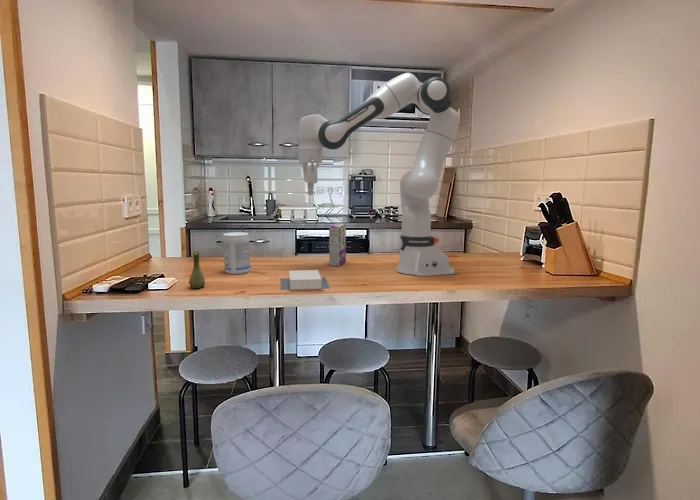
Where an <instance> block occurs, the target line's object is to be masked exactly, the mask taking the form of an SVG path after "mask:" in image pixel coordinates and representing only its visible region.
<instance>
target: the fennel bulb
mask: <svg viewBox="0 0 700 500" xmlns="http://www.w3.org/2000/svg"><path fill="white" fill-rule="evenodd" d="M192 255H193V269H192V271H191V274H190V275H189V278H188V283H189V284H188V285H189V286H190V287H191V289H192V288H193V289H201V288H203V287H205V286H206V279H205V275H204V273H203V271H202V268H201V266H200V252H199V251H196V250H195V251H193V254H192Z"/></svg>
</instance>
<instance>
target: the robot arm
mask: <svg viewBox="0 0 700 500" xmlns="http://www.w3.org/2000/svg"><path fill="white" fill-rule="evenodd" d="M451 93H452V92H451V87H450V84H449V82H448V81H447V80H446V79H445V78H444V77H440V76H433V77H430V78H428V79H427V80H425V81H424V82H421V81H419V80H418V77H416V75H414V74H413V73H412V72H405V73H402V74H400V75H397V76H395V77H394V78H392V79H390V80H388V81H387V82H385V83H384V84H382V85H381V86H380V87H378V88H377V89H376V90H375V91H373V92H372V93H371V95H370V96H369V97H368V98H366V100H365V101H364V102H363V103H362V104H361V105H358V107H356V108H355V109H353V110H351V111H350V112H348V113H346V114H345V115H344V116H342V117H340V118H335V119H330V120H329V119H327V118H325V117H323V116H322V115H321V114H319V113H309V114H305V115H303V116H302V117H301V118H300V120H299V123H298V140H299V147H298V163H299V164H300V163H301V165H302V166H301V167H302V172H303V181H304V183H307V184H306V185H307V194H308V195H309V196H313V195H314V189H315V184H318V168H320V164H322V163H323V149H325V148H326V149H329V150H331V151H336V150H340V149H341V148H343V146H345V145H346V142H347V140H348V138H349V137H350V135H351V134H352V133H354V132H355V131H357V130H358V129H360V128H361V127H363V126H364V125H366V124H368V123H369V122H371V121H374V120H378V119H379V120H380V119H386V118H388V117H390V116H392V115H394V114H396V113H397V112H400V110H403V108H405V107H407V106H408V105H412V106H413V107H414V108H415V109H417V110H418V111H419V112H420V113H422V114H424V115H426V116H429V121H428V125H427V127H426V129H425V131H424V134H423V136H422V137H421V140H420V142H419V145H418V147H417V149H416V154H415V159H414V162H413V165H412V168H411V170H409V171H407V172H405V173H404V174H403V175H402V177H401V178H400V180H399V188H400V190H399V192H400V194H399V195H400V206H401V234H400V236H399V237H400V238H399V249H400V251H399V252H400V253H399V257H398V258H399V259H398V263H397V267H396V269H395V271H396V272H398V273H400V274H405V275H412V276H416V277H431V276H445V275H454V274H455V273H456V270H455V269H454V268H453V267H452V266H451V267H450V262H449V258H448V255H447V254H446V253H444V252H443V251H442V250H441V249H439V248H438V247H437V246H436V245H435V244H439V243H440V239H439V238H438V237H434V236H432V235H431V231H432V230H431V225H432V213H431V209H430V202H429V199H431V198H432V197H433V196H434V195H435V194H436V193H437V192H438V189H439V188H438V187H439V182H440V178H441V175H442V170H443V166H444V164H445V161H446V158H447V156H448V155H449V152H450V149H451V147H452V144H453V142H454V140H455V138H456V136H457V133H458V128H459V125H460V121H461V116H460V114H459V113H458V111H457V110H455V109H454V108H452V107H451V105H452V95H451Z"/></svg>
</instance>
